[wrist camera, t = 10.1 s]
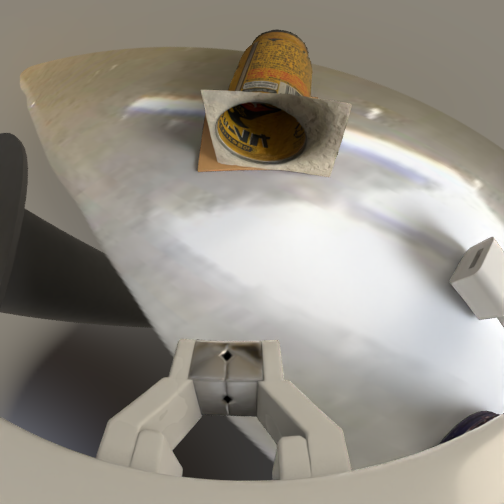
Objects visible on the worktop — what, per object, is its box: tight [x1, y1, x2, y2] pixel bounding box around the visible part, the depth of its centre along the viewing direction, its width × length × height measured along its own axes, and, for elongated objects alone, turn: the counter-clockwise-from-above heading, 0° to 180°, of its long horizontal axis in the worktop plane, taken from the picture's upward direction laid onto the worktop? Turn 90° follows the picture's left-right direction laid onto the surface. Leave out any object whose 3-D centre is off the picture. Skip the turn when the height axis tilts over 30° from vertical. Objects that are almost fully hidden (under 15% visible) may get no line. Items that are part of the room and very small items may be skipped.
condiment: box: [201, 30, 352, 177], centre depth 19 cm, size 7×8×12 cm
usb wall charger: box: [450, 237, 504, 327], centre depth 15 cm, size 4×7×4 cm, turn 44°
